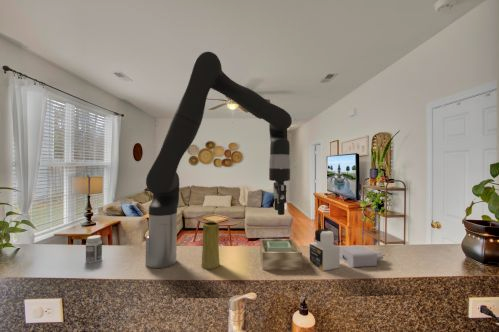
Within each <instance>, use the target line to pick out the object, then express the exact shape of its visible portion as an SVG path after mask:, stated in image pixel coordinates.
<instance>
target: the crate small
mask: <svg viewBox="0 0 499 332" xmlns="http://www.w3.org/2000/svg"><path fill="white" fill-rule="evenodd" d="M267 252H292V247H291V245H290V244H289V242H267Z"/></svg>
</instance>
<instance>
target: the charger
mask: <svg viewBox="0 0 499 332" xmlns="http://www.w3.org/2000/svg"><path fill="white" fill-rule="evenodd" d="M338 247H339V248H340V260H341V261H343V262H344V263H345V264H347V265H348V266H349V267H351V268H365V267H366V268H367V267H377V265H378V260H383V259H384V257H385V256H386V255H385V254H382V252H379V251H377V250H371V249H369V248H367V247H365V246H364V245H346V246H345V245H343V246H342V245H341V246H338Z"/></svg>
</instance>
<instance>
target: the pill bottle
mask: <svg viewBox="0 0 499 332" xmlns="http://www.w3.org/2000/svg"><path fill="white" fill-rule="evenodd" d="M86 242H87V243H85V262H86V263H88V264H92V263H97V262H100V261H101V260H102V258H103V242H102V235H98V234H97V235H91V236H87V239H86Z"/></svg>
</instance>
